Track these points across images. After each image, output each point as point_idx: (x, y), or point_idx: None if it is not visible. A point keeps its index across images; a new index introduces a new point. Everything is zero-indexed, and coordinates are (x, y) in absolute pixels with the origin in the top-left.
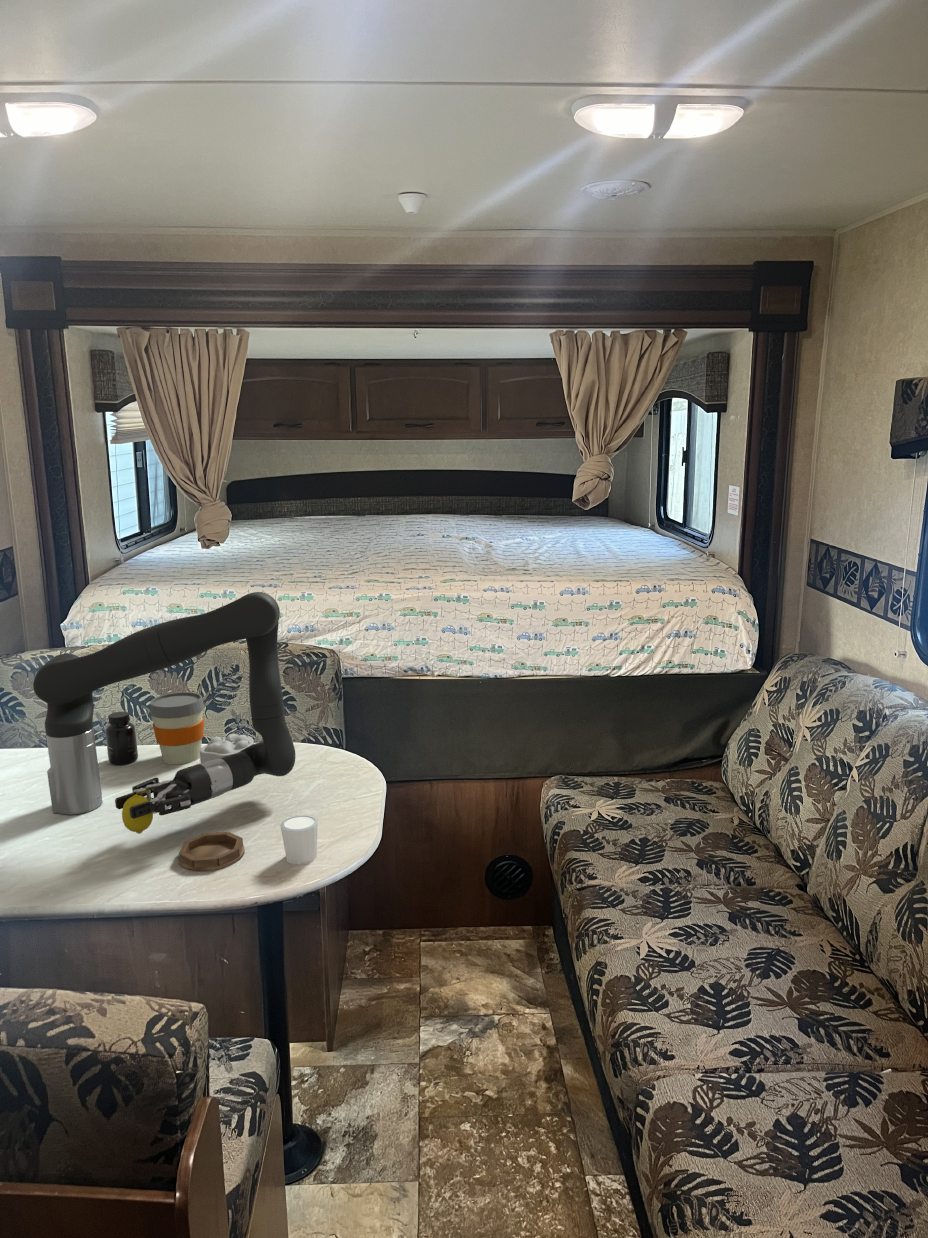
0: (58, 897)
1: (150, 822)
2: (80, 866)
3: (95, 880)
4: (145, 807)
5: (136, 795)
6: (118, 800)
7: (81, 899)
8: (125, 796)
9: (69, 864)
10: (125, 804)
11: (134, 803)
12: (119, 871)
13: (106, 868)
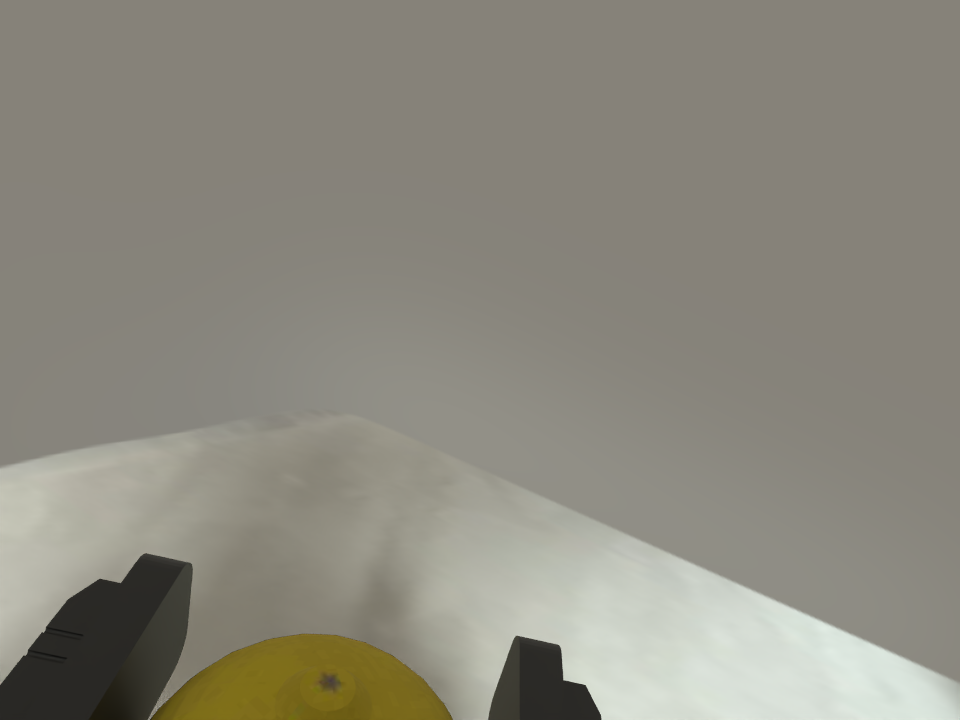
0: (245, 473)
1: None
2: (415, 655)
3: (198, 597)
4: (10, 679)
5: (305, 686)
6: (514, 654)
7: (125, 485)
8: (518, 716)
9: (486, 646)
10: (363, 642)
11: (237, 653)
12: None
13: None
